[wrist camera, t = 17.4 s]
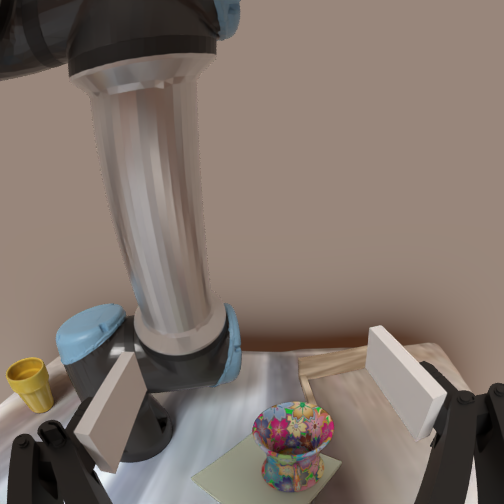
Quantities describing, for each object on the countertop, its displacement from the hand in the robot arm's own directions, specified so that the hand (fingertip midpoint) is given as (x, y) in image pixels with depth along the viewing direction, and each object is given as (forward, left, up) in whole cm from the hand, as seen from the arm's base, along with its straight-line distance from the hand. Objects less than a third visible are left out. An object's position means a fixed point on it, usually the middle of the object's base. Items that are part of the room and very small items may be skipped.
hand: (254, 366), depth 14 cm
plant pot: (-50, -17, -28) cm, 60 cm away
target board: (-7, +7, -28) cm, 30 cm away
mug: (-3, +8, -27) cm, 29 cm away
